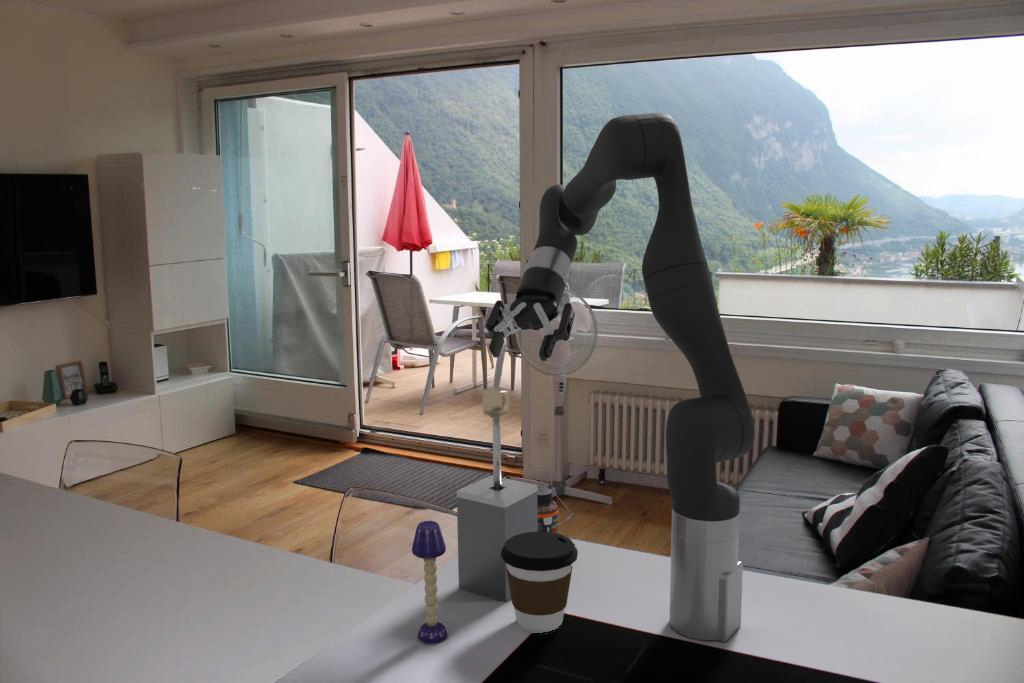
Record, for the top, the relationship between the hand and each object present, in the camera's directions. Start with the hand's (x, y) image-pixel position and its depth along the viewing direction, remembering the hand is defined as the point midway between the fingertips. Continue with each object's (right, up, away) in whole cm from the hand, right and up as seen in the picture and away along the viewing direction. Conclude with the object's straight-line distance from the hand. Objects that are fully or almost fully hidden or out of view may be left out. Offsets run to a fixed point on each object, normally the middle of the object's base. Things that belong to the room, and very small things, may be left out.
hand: (518, 356), depth 138 cm
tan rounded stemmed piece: (-3, -23, -4) cm, 23 cm away
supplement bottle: (+4, -34, +10) cm, 36 cm away
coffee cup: (+3, -38, -15) cm, 41 cm away
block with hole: (-3, -36, -2) cm, 36 cm away
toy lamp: (-12, -39, -18) cm, 45 cm away
